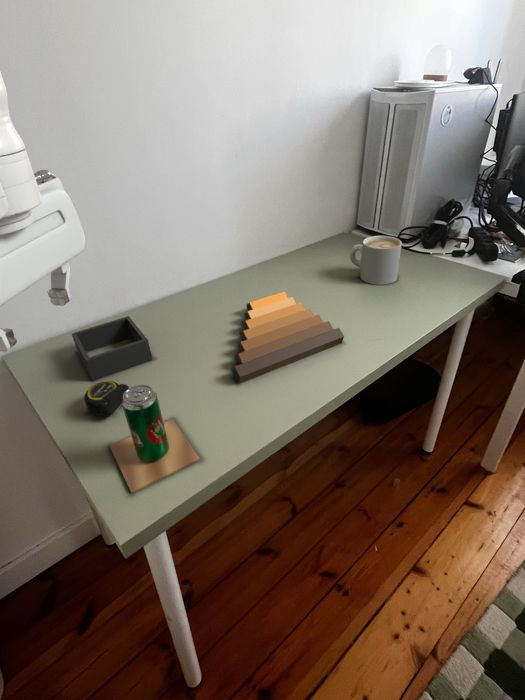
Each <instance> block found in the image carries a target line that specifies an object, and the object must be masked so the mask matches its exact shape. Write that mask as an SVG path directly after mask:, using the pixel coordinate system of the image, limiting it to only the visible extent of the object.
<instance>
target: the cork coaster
mask: <svg viewBox="0 0 525 700" xmlns="http://www.w3.org/2000/svg"><path fill="white" fill-rule="evenodd" d="M163 422H164V427H165V431H166V435H167V439H168V443H169V450H168V452H167V453H166V455H165V456H164V457H163V458H161V459H159V460H157V461H154V462H146V461H143V460H141V459H140V458H139V457H138V456H137V453H136V450H135V446H134V443H133V440H132V436H130V437H127V438H124V439H123V440H120V441H117V442H115V443H112V444H111V445H109V448H110V450H111V452H112V455H113V457H114V459H115V461H116V463H117V466H118V468H119V470H120V472H121V474H122V476H123V478H124V481H125V483H126V485H127V487H128V490H129V491H130V493H131V494H133V493H135V492H138V491H140V490H142V489H143V488H146V487H148V486H150V485H152V484H154V483H156V482H158V481H160V480H162V479H165V478H166V477H168V476H170V475H172V474H175V473H177V472H179V471H180V470H183V469H185V468H187V467H190V466H191V465H194V464H195V463H198V462H199V461H200V460H201V459H200V457H199V456H198V454H197V452H196V451H195V449H194V448H193V447H192V445H191V444H190V443H189V441H188V440H187V438H186V437H185V435H184V434H183V432H182V430H181V429H180V428H179V426H178V425H177V423H176V422H175V421H174V419H173V418H171V419H169V420H167V421H163Z"/></svg>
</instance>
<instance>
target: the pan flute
mask: <svg viewBox="0 0 525 700" xmlns="http://www.w3.org/2000/svg"><path fill="white" fill-rule="evenodd" d="M245 306H246V310H247V311H246V312H244V313H243V314H244V318H245V320H244V321H242V322H241V324H242V329H243V330H242V331H240V332H239V336H240V340H241V341H239V342H237V343H236V345H237V348H238V353H235V354H234V359H235V363H236V365H234V366H232V367H231V371H232V377H233V379H234V380H235V381H236V382H237V383H238V384H242V383H245V382H247V381H250V380H253V379H255V378H258V377H260V376H263V375H265V374H268V373H270V372H273V371H275V370H278V369H281V368H283V367H285V366H288V365H290V364H293V363H296V362H298V361H301V360H303V359H307V358H308V357H311V356H313V355H316V354H318V353H321V352H323V351H326V350H328V349H331V348H334V347H336V346H339V345H341V344H342V343H343V341H344V338H345V335H344V333H343V332H342V330H341V328H340V327H337V328H334V327H333V326H332V324H331V322H330V320H327V321H323V319H322V317H321V315H320V314H319V313H318V314H316V315H314V313H313V311H312V310H311V308H310V307H308V308H305V307H304V306H303V303H302V302H301V301H300V302H298V303H296V300H295V299H294V297H293V296H291V297H288V296H287V294H286V292H285V291H282V292H278V293H275V294H272V295H269V296H265V297H263V298H259V299H255V300H253V301H250V302H248V303H246V304H245Z"/></svg>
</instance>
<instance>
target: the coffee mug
mask: <svg viewBox="0 0 525 700" xmlns="http://www.w3.org/2000/svg"><path fill="white" fill-rule="evenodd" d="M357 251H359V252H360V259H357V257H356V252H357ZM401 252H402V241H401V240H400V239H399V238H397V237H394V236H388V235H373V236H368V237H366V238H364V239H363V240H362V244H355V245H353V246H352V247H351V250H350V253H349V259H350V262H351V263H352V264H353V265H354V266H356V267H357V268H359V270H360V271H359V273H360V274H359V277H360V279H361V281H363V282H365V283H367V284H372V285H377V286H379V285H380V286H383V285H390V284H393V283H395V282H396V281H398V274H399V269H400V268H399V266H400V260H401V259H400V258H401Z"/></svg>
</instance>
